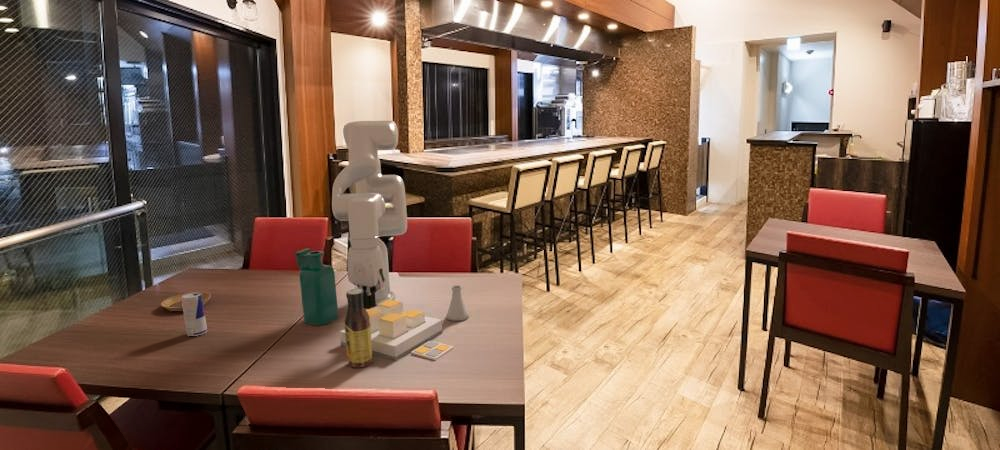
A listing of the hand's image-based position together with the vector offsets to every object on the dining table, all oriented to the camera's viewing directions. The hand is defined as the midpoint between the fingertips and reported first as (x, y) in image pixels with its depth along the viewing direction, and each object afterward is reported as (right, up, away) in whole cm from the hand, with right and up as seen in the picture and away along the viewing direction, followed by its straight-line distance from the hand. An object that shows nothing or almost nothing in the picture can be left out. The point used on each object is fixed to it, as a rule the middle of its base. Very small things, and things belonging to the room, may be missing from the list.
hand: (369, 307), depth 152 cm
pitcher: (-20, -7, +19) cm, 29 cm away
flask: (+23, -6, +19) cm, 30 cm away
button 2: (+4, -5, +9) cm, 11 cm away
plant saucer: (-70, -5, +34) cm, 78 cm away
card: (+18, -11, -4) cm, 22 cm away
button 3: (+7, -7, -2) cm, 10 cm away
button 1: (0, -6, +2) cm, 7 cm away
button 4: (+11, -7, +5) cm, 14 cm away
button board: (+6, -10, +4) cm, 12 cm away
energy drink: (-54, -10, +10) cm, 55 cm away
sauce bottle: (0, -13, -11) cm, 17 cm away
